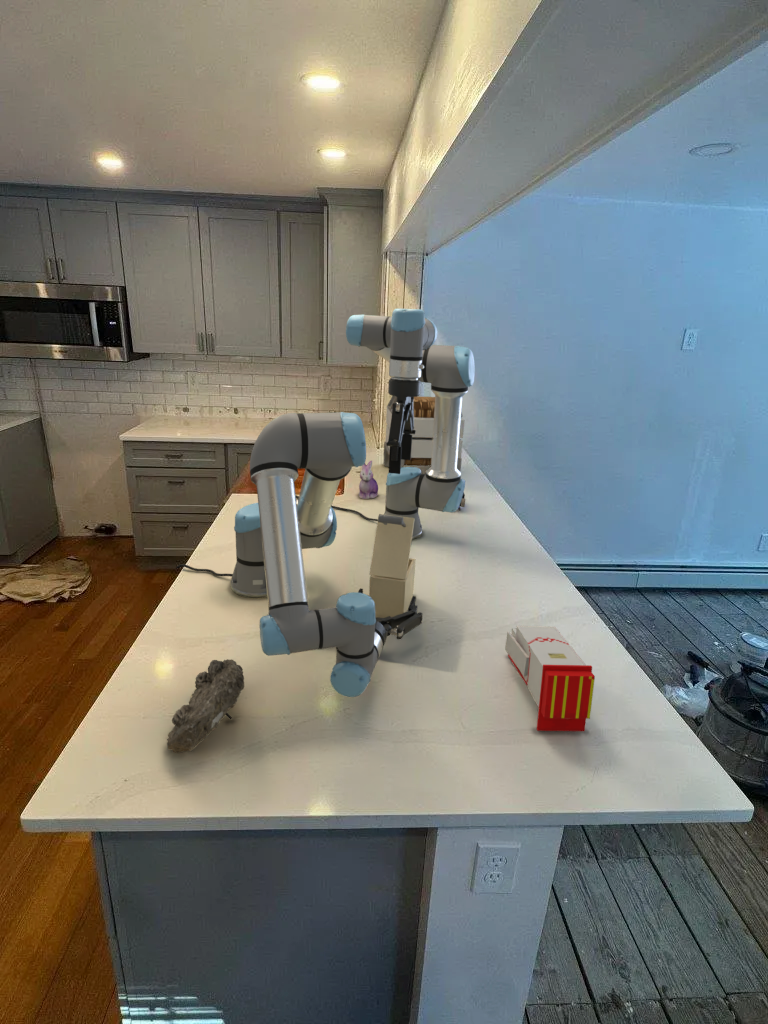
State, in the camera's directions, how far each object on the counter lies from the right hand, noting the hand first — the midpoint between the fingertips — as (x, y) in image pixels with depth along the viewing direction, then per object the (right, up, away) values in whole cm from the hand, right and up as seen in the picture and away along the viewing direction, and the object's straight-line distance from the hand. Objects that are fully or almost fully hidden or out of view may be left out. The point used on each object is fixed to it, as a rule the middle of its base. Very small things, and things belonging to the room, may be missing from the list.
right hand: (400, 466), depth 140 cm
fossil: (-37, -50, -32) cm, 70 cm away
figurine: (-11, -5, +98) cm, 99 cm away
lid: (-2, -20, +3) cm, 20 cm away
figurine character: (+25, -9, +90) cm, 94 cm away
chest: (-2, -36, +12) cm, 38 cm away
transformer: (+13, +8, +135) cm, 136 cm away
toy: (+29, -49, -19) cm, 60 cm away
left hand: (-3, -33, +3) cm, 33 cm away
